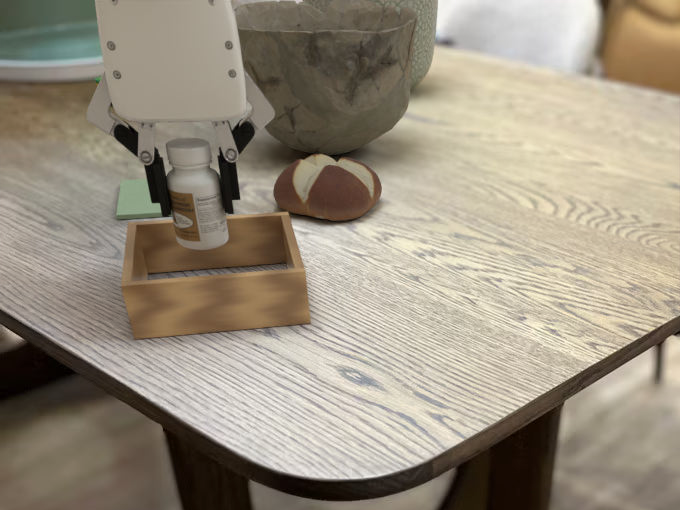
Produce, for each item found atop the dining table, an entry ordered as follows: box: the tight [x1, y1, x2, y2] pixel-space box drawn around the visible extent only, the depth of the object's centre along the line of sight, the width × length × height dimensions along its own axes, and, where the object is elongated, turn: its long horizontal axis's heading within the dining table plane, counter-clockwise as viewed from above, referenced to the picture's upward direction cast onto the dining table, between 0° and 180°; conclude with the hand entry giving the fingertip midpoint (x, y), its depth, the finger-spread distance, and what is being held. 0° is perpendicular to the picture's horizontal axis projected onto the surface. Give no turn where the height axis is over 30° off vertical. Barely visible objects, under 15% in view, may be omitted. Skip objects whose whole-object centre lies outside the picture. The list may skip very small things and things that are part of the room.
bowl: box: [234, 0, 418, 156], centre depth 104 cm, size 22×22×15 cm
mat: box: [115, 174, 220, 221], centre depth 95 cm, size 12×12×1 cm
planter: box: [302, 0, 439, 92], centre depth 127 cm, size 21×21×19 cm
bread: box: [272, 153, 383, 222], centre depth 92 cm, size 11×11×5 cm
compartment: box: [120, 211, 312, 340], centre depth 74 cm, size 15×15×4 cm
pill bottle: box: [165, 137, 229, 250], centre depth 70 cm, size 4×4×8 cm
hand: (197, 207), depth 71 cm, fingers closed on pill bottle, 4 cm apart
